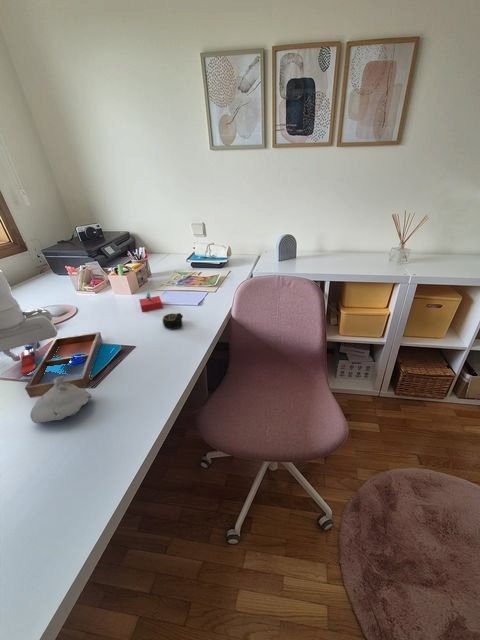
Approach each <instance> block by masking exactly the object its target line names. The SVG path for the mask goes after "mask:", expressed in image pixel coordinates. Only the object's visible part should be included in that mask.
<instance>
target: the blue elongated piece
mask: <svg viewBox="0 0 480 640" xmlns="http://www.w3.org/2000/svg"><path fill="white" fill-rule="evenodd" d="M40 346H41V344H40V341H39V342H37V348H36V349H38V348H39V347H40ZM23 347H24V350H29V351H30V350H31V349H33V346H31V344H28V345H24V346H23Z"/></svg>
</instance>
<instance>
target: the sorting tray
mask: <svg viewBox="0 0 480 640" xmlns="http://www.w3.org/2000/svg"><path fill="white" fill-rule="evenodd" d="M102 343H103V337H102V334H101V332H92V333H84V334H77V335H69V336H62V337H54V338H53V340H52V342H51V343H50V344H49V347H48V348H47V350H46V352H45V354H44V355H43V357H42V359H41V361H39V364H38V365H37V369H36V371H35V372H34V374H32V375H31V376H30V378H29V380H28V382H27V384H26V386H25V388H24V390H25V392H26V393H27V394H28V397H30V398H34V397H35V398H36V397H40V396H41V397H42V396H43V395H44V394H45V393H46V392H48V391H49V390H50V389H51V388H52V387H53V386H54V379H55V378H57V377H60V376H63V378H64V381H65V383H70V384H72V385H75V386H76V387H78V388H81V389H87V388H88V385H89V383H90V380H89V375H90V372H91V370H92V367H93V365H94V362H95V363H96V361H95V359H96V360H97V358H96V356H97V357H98V355H97V352H98V349H99V346H100V344H101V345H102ZM58 347H59V348H58ZM100 347H101V346H100ZM57 349H58V350H57ZM99 350H100V349H99ZM56 351H57V352H56ZM78 353H83V354H86V355H81V356H74V357H79V358H84V359H85V360H86V361H85V362H84V363H82V364H79V365H76V366H70V365H67V364H68V363H69V361H70V359H71V358H73V357H71V356H73V355H75V354H78ZM98 353H99V352H98ZM54 354H55V355H54ZM57 355H58V356H57ZM53 356H55V357H53ZM56 356H57V357H60V356H61V357H60V358H61V359H54V360H51V359H52V358H57V357H56ZM61 364H66V365H65V366H64V365H63V366H62V367H61V368H60V369H62V368H63V367H64V368H63V370H64V372H63V373H65V371H66V373H67V374H68V375H67V374H62V373H61V374H59V373H57V372H56V373H55V372H51V371H49V372H45V370H46V368H47V366H54V365H61ZM94 366H95V365H94ZM63 370H62V371H63ZM59 371H60V370H59ZM44 373H45V374H44ZM77 374H78V375H79V374H80V375H81V374H82V375H81V376H80V375H79V376H78V375H77ZM75 375H76V376H75Z"/></svg>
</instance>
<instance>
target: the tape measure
mask: <svg viewBox="0 0 480 640" xmlns="http://www.w3.org/2000/svg"><path fill="white" fill-rule="evenodd" d="M183 318H184V315H183V314H182V313H181V312H178V313H168V314H165V315H164V316H163V317H162V319H161V320H162V325H163V327H164V328H166V329H169V330H171V329H172V330H173V329H178V328H181V327H182V326H183V323H182V322H183Z"/></svg>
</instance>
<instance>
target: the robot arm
mask: <svg viewBox="0 0 480 640" xmlns="http://www.w3.org/2000/svg"><path fill="white" fill-rule="evenodd" d="M52 320H53V316H52V314H51V312H50V310H47V309H45V308H42V307H41V308H36V309H33V310H27V311H23V309H22V308H21V305H20V304H19V302H18V300H17V299H16V298H15V297H14V296H13V293H12V289H11V286H10V284H9V282H8V281H7V278H6V277H5V274H3V272H2V270H1V269H0V353H3V355H5V356H7V357H9V358H11V359H12V361H13V362H15V363H16V362H19V361H21V355H19V353H17V352H16V353H14V352H12V351H11V350H13V349H16V348H20V347H24V345H28V344H31V346H33V349H31V350H29V351H30V354H31V356H32V357H33V358H34V357H37V356H39V353H38V351H37V349H38V348H37V342H39V343H40V342H42V341H46V340H50V339H54V338H57V336H58V329H57V328H56V326H55V324H54V323H53V321H52Z"/></svg>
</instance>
